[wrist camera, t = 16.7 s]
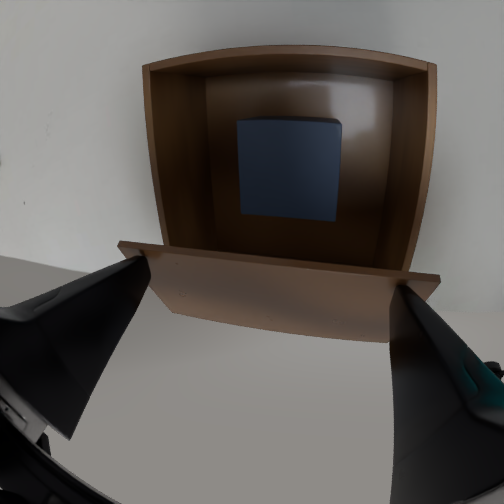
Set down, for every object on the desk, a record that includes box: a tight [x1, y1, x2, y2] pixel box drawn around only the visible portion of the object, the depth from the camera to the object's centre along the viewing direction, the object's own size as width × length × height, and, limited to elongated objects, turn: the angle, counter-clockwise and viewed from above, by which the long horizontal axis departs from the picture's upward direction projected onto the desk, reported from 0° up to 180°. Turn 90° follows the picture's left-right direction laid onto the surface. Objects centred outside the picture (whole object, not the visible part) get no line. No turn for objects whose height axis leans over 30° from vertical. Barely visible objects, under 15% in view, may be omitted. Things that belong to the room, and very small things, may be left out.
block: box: [237, 116, 342, 222], centre depth 14 cm, size 4×4×4 cm
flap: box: [117, 241, 441, 343], centre depth 11 cm, size 6×12×1 cm, turn 92°
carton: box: [142, 45, 437, 272], centre depth 14 cm, size 13×12×6 cm
